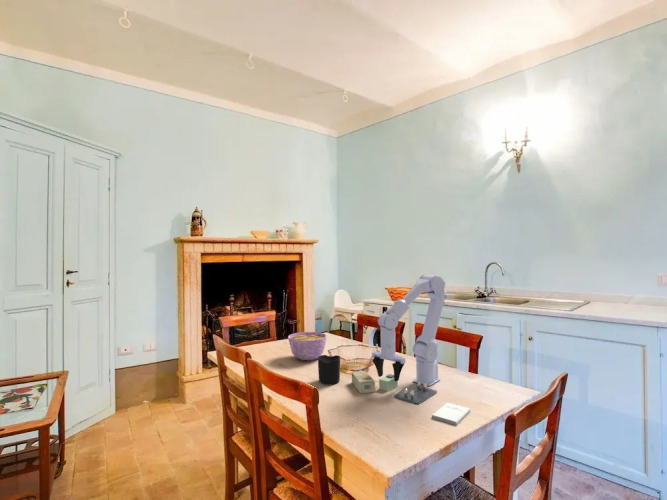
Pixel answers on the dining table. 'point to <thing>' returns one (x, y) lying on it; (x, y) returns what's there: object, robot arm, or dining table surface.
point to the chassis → (416, 393)
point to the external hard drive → (451, 413)
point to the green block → (387, 383)
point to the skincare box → (363, 382)
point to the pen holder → (329, 369)
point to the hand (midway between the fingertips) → (388, 378)
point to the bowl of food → (307, 344)
